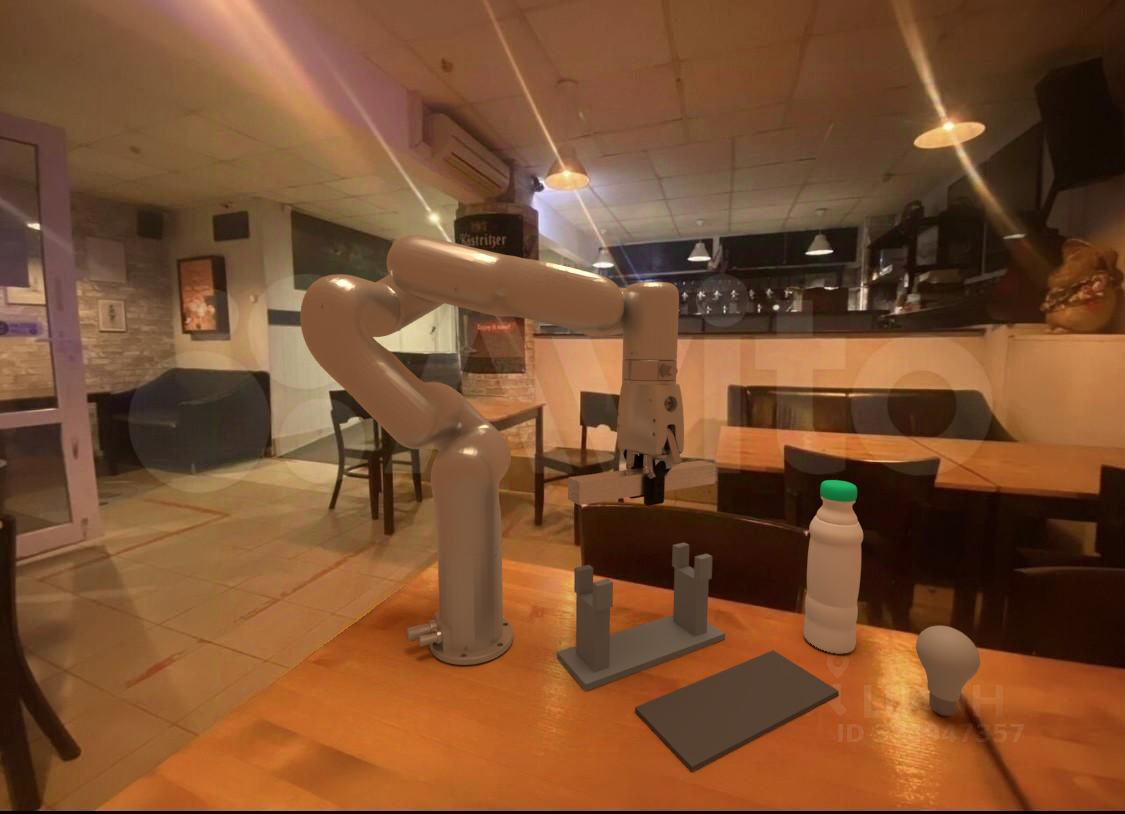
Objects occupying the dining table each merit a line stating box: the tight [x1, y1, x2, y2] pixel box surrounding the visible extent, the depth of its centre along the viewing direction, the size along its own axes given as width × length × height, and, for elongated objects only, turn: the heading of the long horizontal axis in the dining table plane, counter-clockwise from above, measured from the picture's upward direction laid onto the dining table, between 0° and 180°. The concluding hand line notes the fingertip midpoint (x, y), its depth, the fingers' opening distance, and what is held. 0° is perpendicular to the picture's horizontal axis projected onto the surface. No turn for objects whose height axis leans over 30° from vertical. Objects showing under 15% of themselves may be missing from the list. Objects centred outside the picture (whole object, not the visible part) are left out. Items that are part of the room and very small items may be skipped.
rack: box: [556, 542, 726, 692], centre depth 73 cm, size 25×8×14 cm, turn 118°
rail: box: [567, 459, 717, 506], centre depth 71 cm, size 24×3×3 cm, turn 118°
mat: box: [634, 649, 840, 773], centre depth 62 cm, size 25×10×1 cm, turn 118°
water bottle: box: [802, 479, 864, 655], centre depth 74 cm, size 7×7×25 cm
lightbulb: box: [915, 625, 981, 717], centre depth 60 cm, size 6×6×11 cm
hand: (645, 499), depth 71 cm, fingers closed on rail, 3 cm apart
